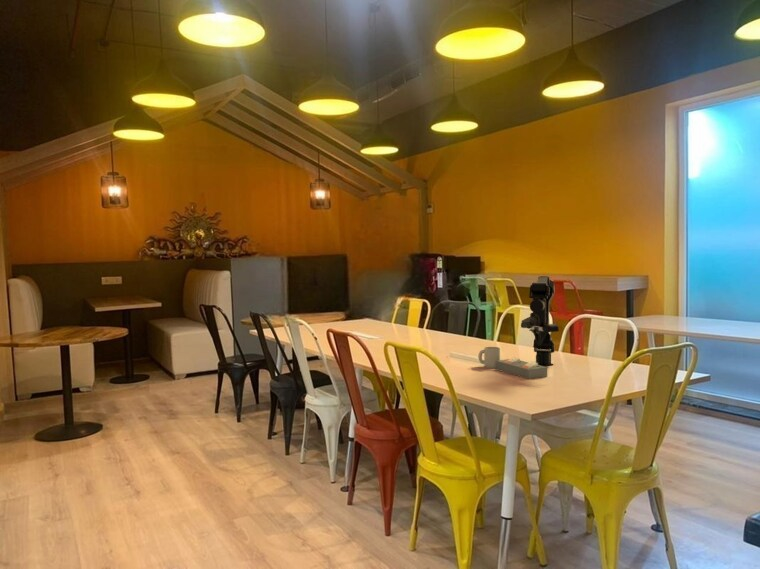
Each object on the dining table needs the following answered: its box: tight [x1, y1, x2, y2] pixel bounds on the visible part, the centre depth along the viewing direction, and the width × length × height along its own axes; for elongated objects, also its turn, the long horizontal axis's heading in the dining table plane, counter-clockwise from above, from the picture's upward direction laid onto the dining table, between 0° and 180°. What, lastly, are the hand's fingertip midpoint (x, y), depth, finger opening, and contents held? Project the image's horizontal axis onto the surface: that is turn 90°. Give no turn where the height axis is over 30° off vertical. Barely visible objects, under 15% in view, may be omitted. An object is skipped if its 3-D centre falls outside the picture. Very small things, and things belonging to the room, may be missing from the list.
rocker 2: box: [522, 361, 538, 368], centre depth 246 cm, size 6×4×1 cm, turn 115°
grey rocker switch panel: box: [495, 358, 548, 380], centre depth 251 cm, size 10×23×4 cm, turn 25°
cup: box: [478, 346, 501, 369], centre depth 266 cm, size 7×10×9 cm
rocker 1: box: [505, 357, 521, 363], centre depth 256 cm, size 6×4×1 cm, turn 115°
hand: (539, 345), depth 251 cm, fingers closed
